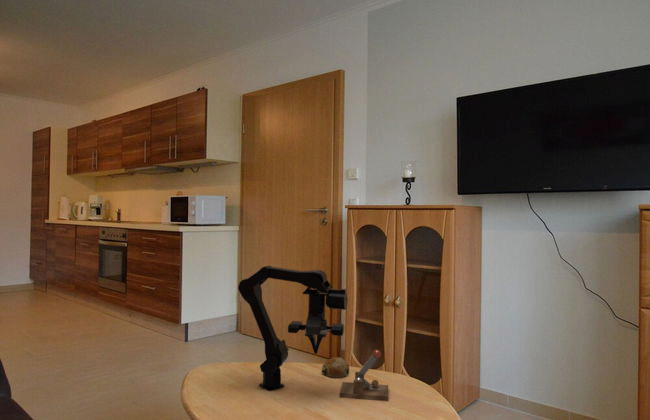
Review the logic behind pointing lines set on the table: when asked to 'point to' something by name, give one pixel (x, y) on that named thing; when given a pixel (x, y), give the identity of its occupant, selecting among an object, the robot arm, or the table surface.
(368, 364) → the lever
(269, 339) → the robot arm
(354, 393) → the base
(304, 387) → the table surface
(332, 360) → the bread roll
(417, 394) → the table surface
